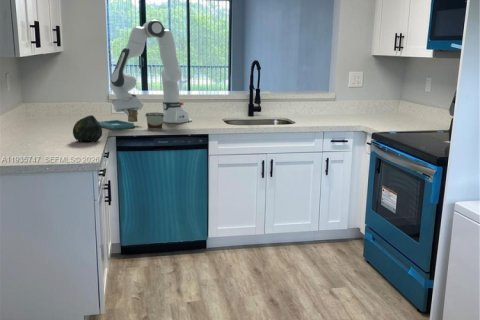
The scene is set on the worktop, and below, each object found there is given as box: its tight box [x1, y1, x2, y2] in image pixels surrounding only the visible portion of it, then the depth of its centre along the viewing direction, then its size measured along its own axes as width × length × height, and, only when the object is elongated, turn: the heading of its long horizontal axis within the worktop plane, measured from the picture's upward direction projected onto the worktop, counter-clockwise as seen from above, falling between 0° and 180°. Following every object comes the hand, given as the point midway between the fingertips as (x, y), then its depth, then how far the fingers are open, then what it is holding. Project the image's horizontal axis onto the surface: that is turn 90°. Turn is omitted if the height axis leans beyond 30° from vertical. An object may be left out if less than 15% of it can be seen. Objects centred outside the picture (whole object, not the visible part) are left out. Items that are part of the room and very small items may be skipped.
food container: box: [145, 111, 164, 130], centre depth 299 cm, size 12×6×10 cm, turn 84°
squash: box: [72, 115, 103, 142], centre depth 250 cm, size 14×15×15 cm
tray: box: [98, 119, 135, 131], centre depth 300 cm, size 14×20×3 cm
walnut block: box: [127, 109, 138, 123], centre depth 307 cm, size 4×4×8 cm
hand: (133, 114), depth 307 cm, fingers closed on walnut block, 4 cm apart
